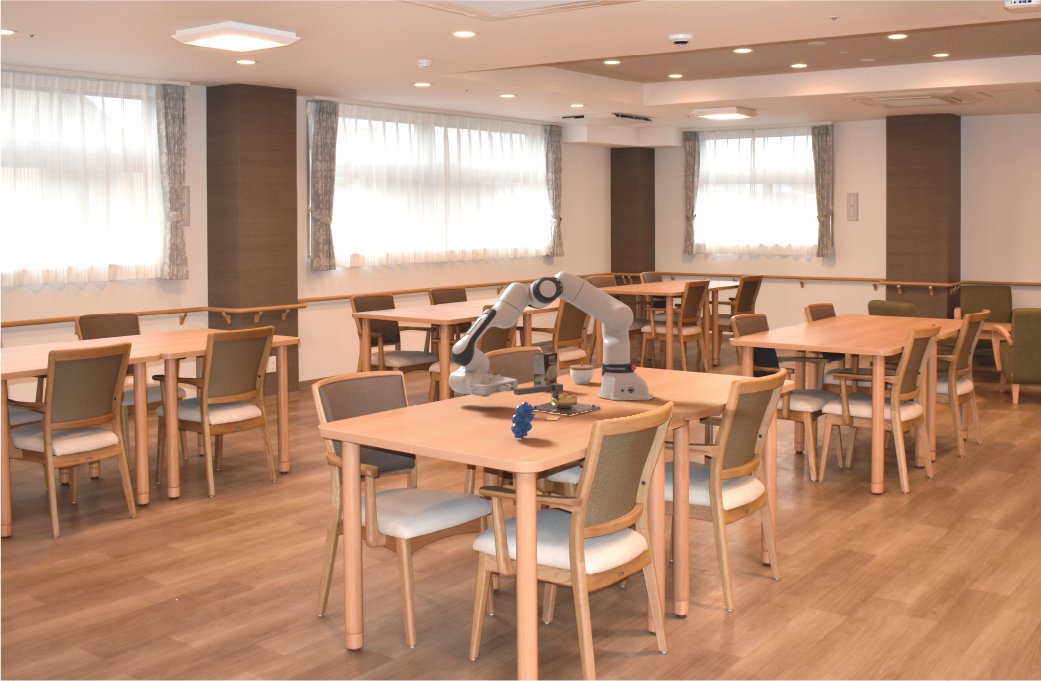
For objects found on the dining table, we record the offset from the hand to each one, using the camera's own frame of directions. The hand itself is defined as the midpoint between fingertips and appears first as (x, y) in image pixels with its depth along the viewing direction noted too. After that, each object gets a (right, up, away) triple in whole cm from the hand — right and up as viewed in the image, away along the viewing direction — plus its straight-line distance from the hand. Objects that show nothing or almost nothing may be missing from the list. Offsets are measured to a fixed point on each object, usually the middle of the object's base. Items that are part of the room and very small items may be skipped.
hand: (512, 388), depth 363 cm
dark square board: (+20, -8, +7) cm, 23 cm away
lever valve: (+13, -7, +1) cm, 14 cm away
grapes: (+3, -14, -44) cm, 47 cm away
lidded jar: (+31, -1, +72) cm, 78 cm away
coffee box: (+14, -3, +52) cm, 54 cm away
